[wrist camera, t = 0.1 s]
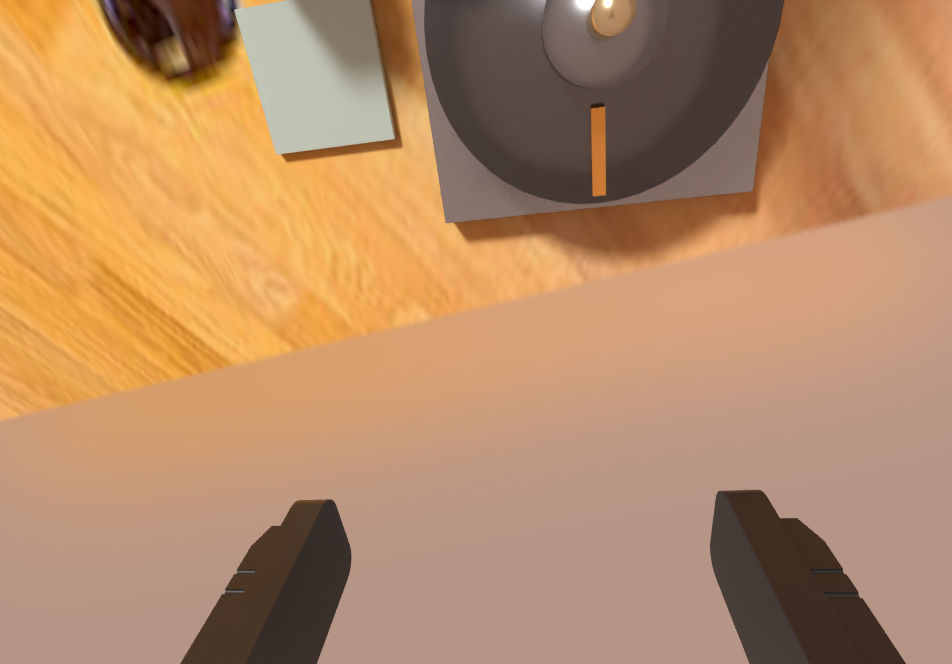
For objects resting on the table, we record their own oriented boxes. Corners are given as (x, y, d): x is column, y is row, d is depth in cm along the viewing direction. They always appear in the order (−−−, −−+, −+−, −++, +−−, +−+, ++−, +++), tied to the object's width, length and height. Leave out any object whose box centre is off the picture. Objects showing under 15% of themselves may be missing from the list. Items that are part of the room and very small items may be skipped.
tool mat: (239, 11, 32) (234, 9, 31) (368, -12, 31) (366, -14, 30) (280, 153, 36) (276, 154, 35) (396, 138, 35) (394, 139, 34)
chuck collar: (404, -162, 26) (349, -276, 18) (787, -245, 23) (926, -425, 15) (456, 208, 34) (435, 244, 26) (740, 178, 32) (813, 207, 24)
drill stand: (395, -146, 28) (386, -163, 26) (787, -231, 25) (807, -255, 23) (449, 216, 37) (445, 223, 35) (740, 185, 34) (752, 191, 32)
